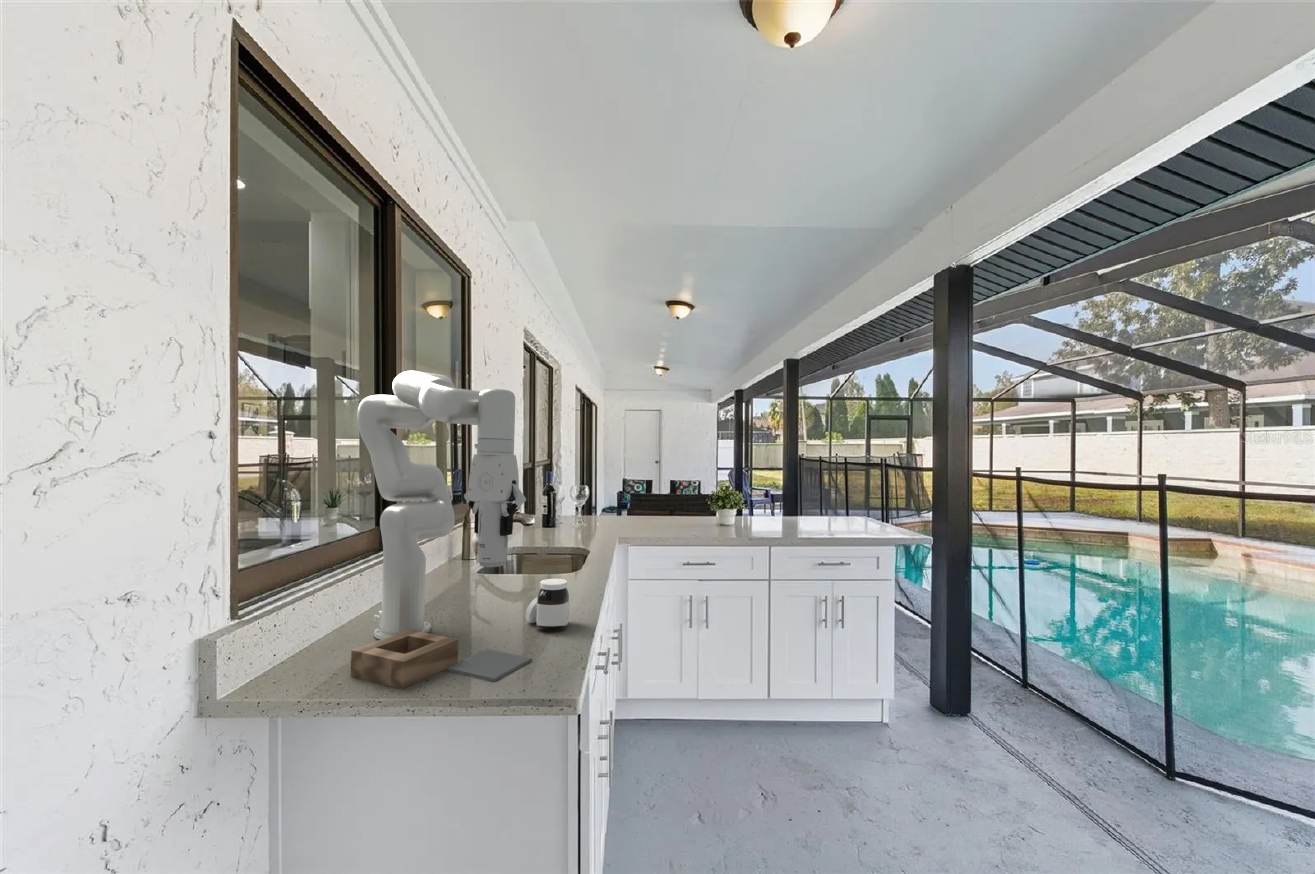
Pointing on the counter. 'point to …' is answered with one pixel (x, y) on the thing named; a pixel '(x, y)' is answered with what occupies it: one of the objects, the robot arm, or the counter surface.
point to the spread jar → (550, 606)
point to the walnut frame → (404, 658)
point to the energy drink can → (491, 535)
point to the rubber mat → (489, 665)
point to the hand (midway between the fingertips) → (493, 533)
